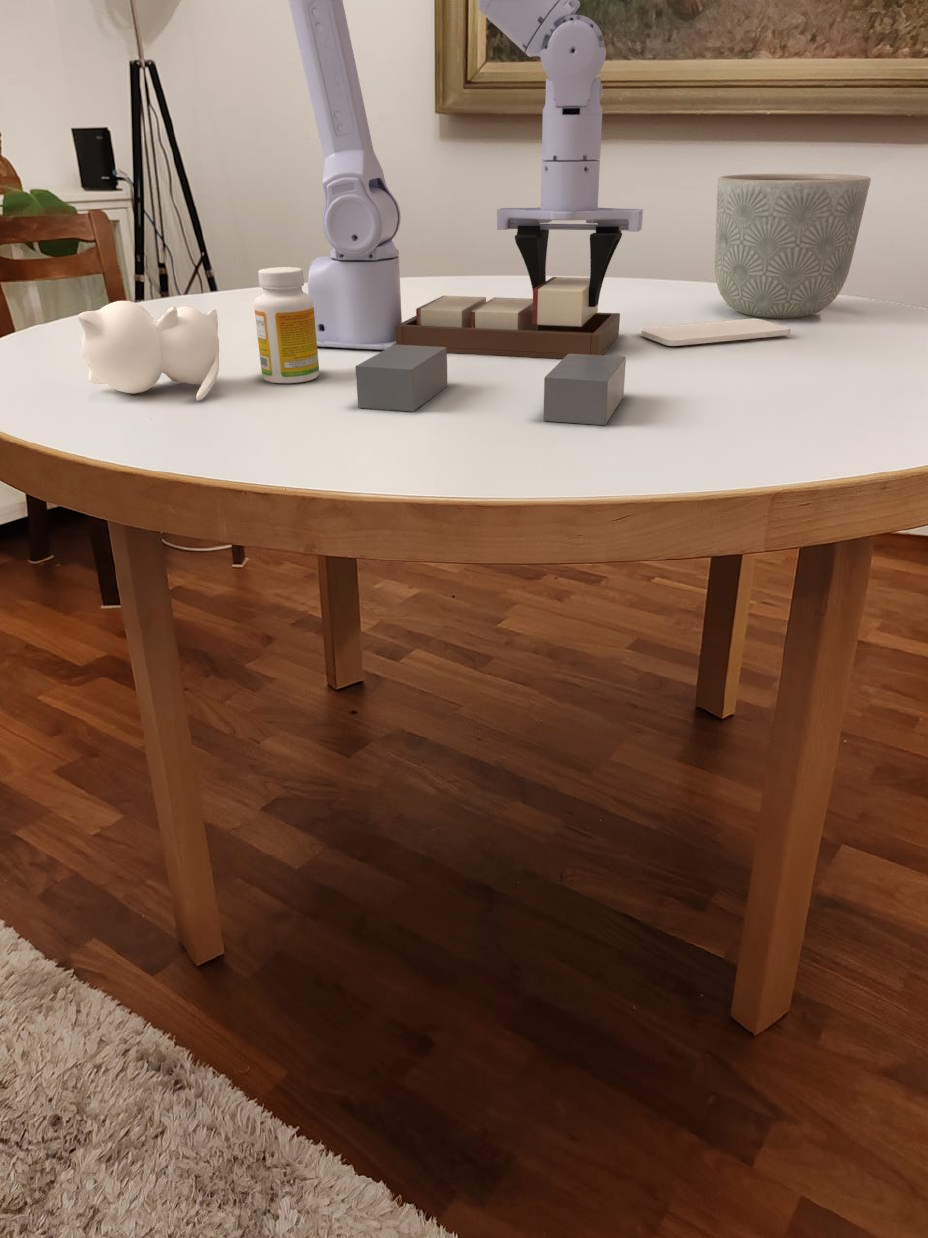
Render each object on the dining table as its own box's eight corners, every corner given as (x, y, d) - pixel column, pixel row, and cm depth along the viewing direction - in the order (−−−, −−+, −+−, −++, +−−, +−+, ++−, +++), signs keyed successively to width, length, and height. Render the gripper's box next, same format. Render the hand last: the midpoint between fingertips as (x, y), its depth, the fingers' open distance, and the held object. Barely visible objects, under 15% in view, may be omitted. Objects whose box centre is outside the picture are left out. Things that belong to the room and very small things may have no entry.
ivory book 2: (470, 345, 100) (470, 310, 98) (494, 329, 107) (494, 297, 106) (517, 347, 98) (517, 312, 97) (537, 331, 106) (538, 298, 104)
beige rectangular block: (532, 324, 97) (532, 289, 95) (551, 310, 104) (552, 276, 103) (581, 327, 96) (582, 290, 94) (597, 311, 103) (599, 277, 101)
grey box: (543, 421, 76) (544, 376, 74) (566, 393, 83) (568, 353, 82) (605, 425, 74) (607, 380, 73) (623, 397, 82) (626, 356, 80)
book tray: (396, 349, 101) (395, 325, 99) (435, 327, 111) (434, 305, 110) (598, 360, 95) (599, 334, 94) (618, 336, 105) (620, 313, 104)
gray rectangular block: (357, 407, 80) (355, 365, 78) (396, 382, 88) (394, 344, 86) (413, 411, 79) (411, 369, 77) (447, 386, 86) (446, 346, 85)
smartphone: (638, 328, 105) (756, 317, 109) (637, 335, 106) (755, 324, 109) (670, 340, 99) (794, 328, 103) (669, 348, 99) (793, 335, 103)
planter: (735, 297, 128) (749, 172, 121) (865, 308, 119) (888, 174, 112) (682, 316, 116) (694, 178, 108) (822, 330, 107) (845, 181, 100)
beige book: (416, 342, 101) (415, 308, 100) (443, 327, 109) (443, 295, 107) (462, 344, 100) (461, 310, 98) (486, 328, 108) (486, 296, 106)
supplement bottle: (329, 372, 91) (321, 266, 87) (303, 386, 87) (293, 274, 82) (279, 369, 93) (269, 264, 89) (251, 382, 89) (238, 272, 84)
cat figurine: (213, 274, 85) (70, 278, 81) (234, 359, 80) (83, 367, 76) (214, 348, 92) (83, 355, 88) (234, 430, 87) (95, 441, 83)
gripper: (488, 162, 92) (488, 308, 98) (638, 161, 88) (629, 313, 94) (507, 159, 98) (506, 297, 104) (649, 158, 94) (639, 301, 100)
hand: (565, 304), depth 99 cm, fingers closed on beige rectangular block, 5 cm apart
